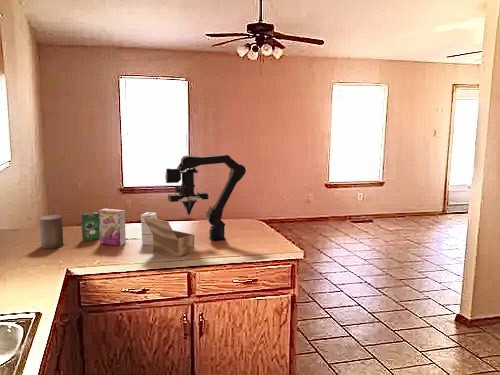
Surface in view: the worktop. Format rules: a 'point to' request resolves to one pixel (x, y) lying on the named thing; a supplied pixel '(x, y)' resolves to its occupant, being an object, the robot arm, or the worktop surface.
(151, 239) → the syrup box
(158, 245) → the light wood open box
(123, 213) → the candy bar box
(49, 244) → the pillar candle
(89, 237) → the coffee box
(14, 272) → the worktop surface
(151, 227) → the flap
